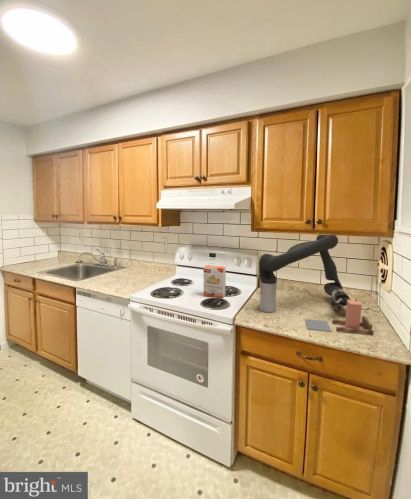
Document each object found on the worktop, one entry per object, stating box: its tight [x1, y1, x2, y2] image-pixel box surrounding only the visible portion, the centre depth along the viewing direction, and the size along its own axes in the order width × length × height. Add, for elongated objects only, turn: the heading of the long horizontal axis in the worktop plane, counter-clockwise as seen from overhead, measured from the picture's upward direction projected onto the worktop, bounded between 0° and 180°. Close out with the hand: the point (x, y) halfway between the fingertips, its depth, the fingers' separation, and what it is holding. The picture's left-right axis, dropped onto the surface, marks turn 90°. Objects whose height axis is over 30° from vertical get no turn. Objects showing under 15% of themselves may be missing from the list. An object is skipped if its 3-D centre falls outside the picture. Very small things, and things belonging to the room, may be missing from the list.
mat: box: [304, 318, 333, 333], centre depth 132 cm, size 11×11×1 cm
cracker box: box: [203, 264, 227, 299], centre depth 172 cm, size 14×6×21 cm, turn 69°
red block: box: [344, 299, 363, 329], centre depth 127 cm, size 5×5×14 cm
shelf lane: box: [331, 315, 375, 336], centre depth 128 cm, size 16×9×5 cm, turn 77°
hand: (349, 308), depth 133 cm, fingers open, 8 cm apart
